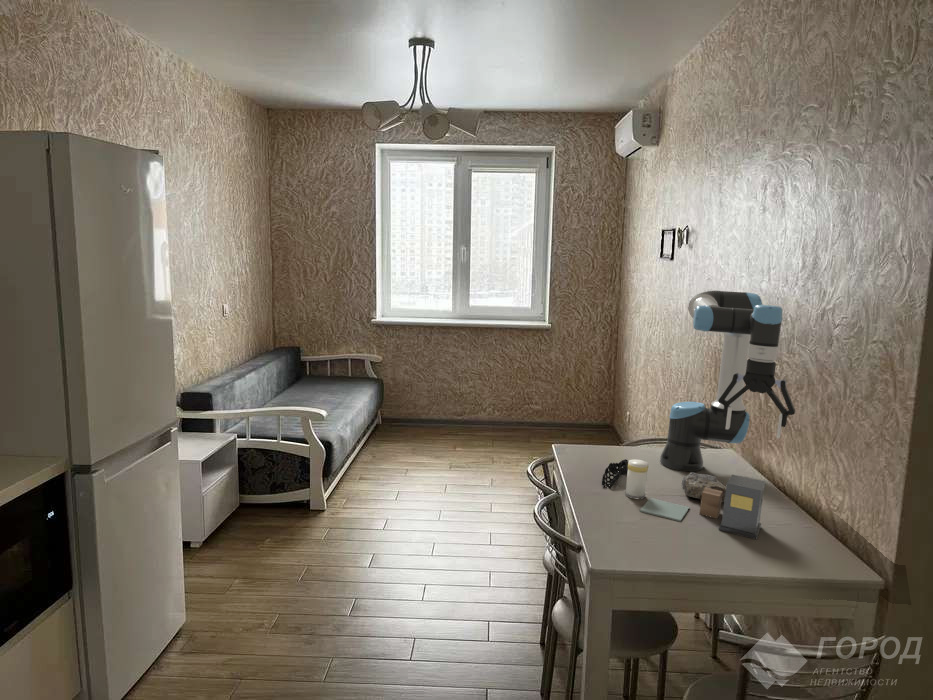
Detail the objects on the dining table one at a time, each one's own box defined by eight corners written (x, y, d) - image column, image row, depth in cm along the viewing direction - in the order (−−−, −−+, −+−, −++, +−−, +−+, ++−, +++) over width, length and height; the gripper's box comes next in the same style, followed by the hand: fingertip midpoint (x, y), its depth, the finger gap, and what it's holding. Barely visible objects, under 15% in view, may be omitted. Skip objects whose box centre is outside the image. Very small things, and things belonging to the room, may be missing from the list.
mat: (650, 499, 212) (650, 497, 212) (689, 508, 206) (689, 507, 206) (639, 511, 202) (639, 509, 202) (680, 521, 196) (680, 520, 196)
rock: (679, 486, 226) (686, 504, 211) (681, 468, 225) (688, 485, 210) (718, 489, 224) (728, 508, 209) (720, 471, 223) (730, 488, 208)
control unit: (725, 517, 201) (730, 473, 198) (761, 526, 196) (767, 480, 193) (718, 529, 192) (724, 483, 189) (756, 539, 187) (762, 491, 184)
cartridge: (628, 490, 219) (631, 458, 217) (647, 495, 216) (650, 462, 214) (622, 496, 213) (625, 463, 211) (641, 500, 210) (645, 467, 208)
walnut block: (702, 509, 207) (705, 487, 205) (719, 513, 204) (722, 491, 203) (699, 514, 202) (702, 492, 201) (716, 518, 200) (719, 496, 199)
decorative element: (613, 490, 218) (615, 473, 217) (598, 486, 221) (600, 469, 220) (633, 472, 238) (635, 456, 237) (619, 469, 240) (621, 453, 239)
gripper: (713, 355, 193) (704, 427, 196) (809, 367, 180) (799, 444, 183) (718, 352, 199) (709, 422, 202) (811, 364, 187) (801, 438, 190)
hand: (752, 432), depth 193 cm, fingers open, 13 cm apart
